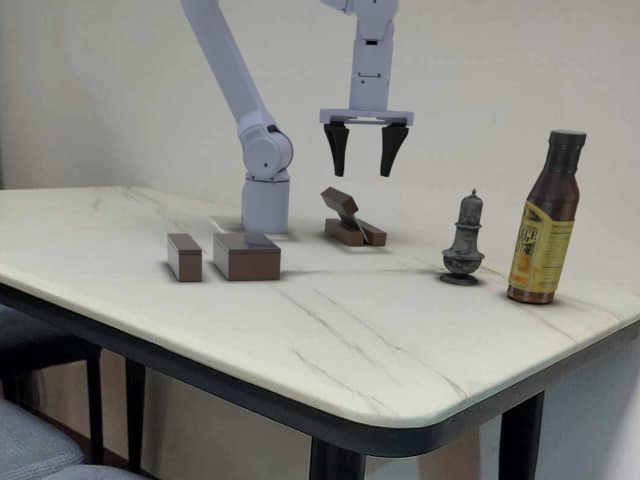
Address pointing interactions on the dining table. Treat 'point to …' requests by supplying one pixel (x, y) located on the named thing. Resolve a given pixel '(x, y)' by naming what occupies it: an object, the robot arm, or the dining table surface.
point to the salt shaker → (465, 244)
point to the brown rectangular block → (184, 257)
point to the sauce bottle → (547, 222)
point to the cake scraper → (343, 207)
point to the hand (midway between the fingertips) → (361, 176)
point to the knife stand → (355, 233)
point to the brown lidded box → (246, 256)
